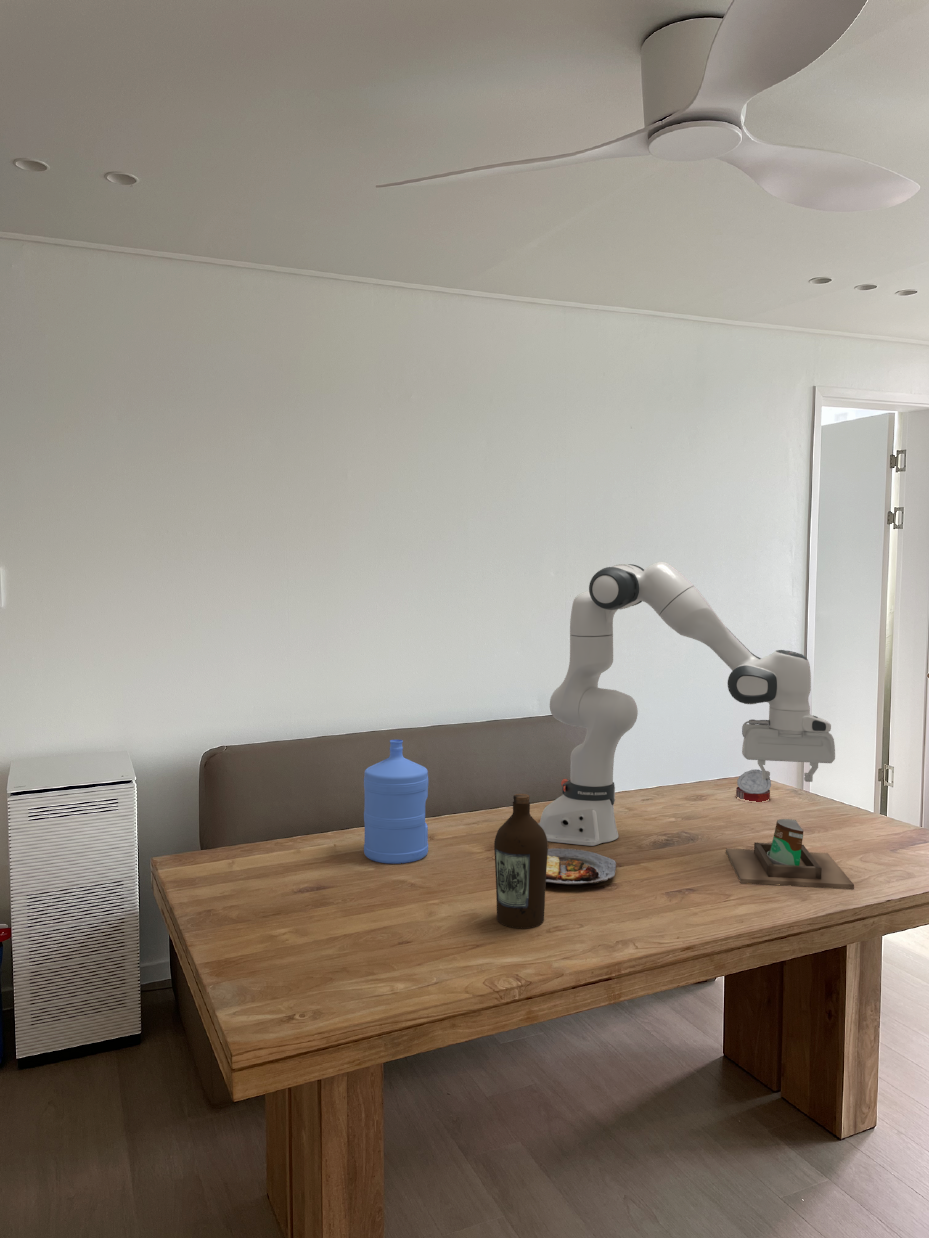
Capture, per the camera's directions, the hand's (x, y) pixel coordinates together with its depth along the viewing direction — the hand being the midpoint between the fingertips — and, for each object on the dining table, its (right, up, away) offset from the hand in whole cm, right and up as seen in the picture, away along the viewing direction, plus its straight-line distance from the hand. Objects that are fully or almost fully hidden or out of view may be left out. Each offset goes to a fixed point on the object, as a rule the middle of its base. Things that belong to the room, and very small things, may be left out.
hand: (787, 780), depth 208 cm
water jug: (-91, -20, +11) cm, 94 cm away
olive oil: (-64, -23, -29) cm, 74 cm away
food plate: (-52, -21, -2) cm, 56 cm away
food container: (-1, -10, -1) cm, 10 cm away
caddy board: (0, -21, +1) cm, 21 cm away
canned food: (+13, -18, +66) cm, 69 cm away
